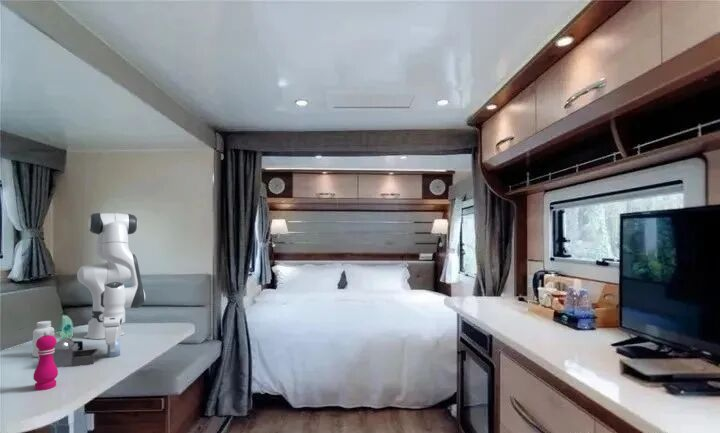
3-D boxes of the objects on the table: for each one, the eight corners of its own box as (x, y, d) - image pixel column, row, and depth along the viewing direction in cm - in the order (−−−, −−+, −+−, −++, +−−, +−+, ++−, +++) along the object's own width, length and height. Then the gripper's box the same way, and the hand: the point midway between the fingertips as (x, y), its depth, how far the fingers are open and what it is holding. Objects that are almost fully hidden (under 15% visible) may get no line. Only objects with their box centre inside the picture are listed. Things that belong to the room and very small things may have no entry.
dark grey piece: (56, 360, 190) (57, 337, 190) (98, 356, 196) (98, 334, 196) (48, 368, 178) (48, 344, 179) (93, 364, 184) (93, 340, 185)
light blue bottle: (108, 354, 199) (108, 334, 199) (120, 353, 201) (121, 333, 201) (106, 357, 194) (106, 337, 194) (119, 356, 196) (119, 336, 196)
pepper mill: (41, 384, 161) (42, 329, 161) (62, 383, 161) (63, 328, 162) (28, 391, 154) (29, 333, 154) (49, 390, 154) (51, 333, 155)
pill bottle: (42, 358, 194) (43, 324, 195) (27, 357, 196) (28, 323, 196) (58, 353, 202) (58, 320, 202) (43, 352, 204) (44, 319, 204)
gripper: (109, 315, 206) (109, 344, 206) (102, 323, 187) (102, 356, 187) (124, 314, 209) (124, 343, 208) (119, 322, 190) (118, 354, 189)
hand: (113, 349), depth 197 cm, fingers closed on light blue bottle, 5 cm apart
